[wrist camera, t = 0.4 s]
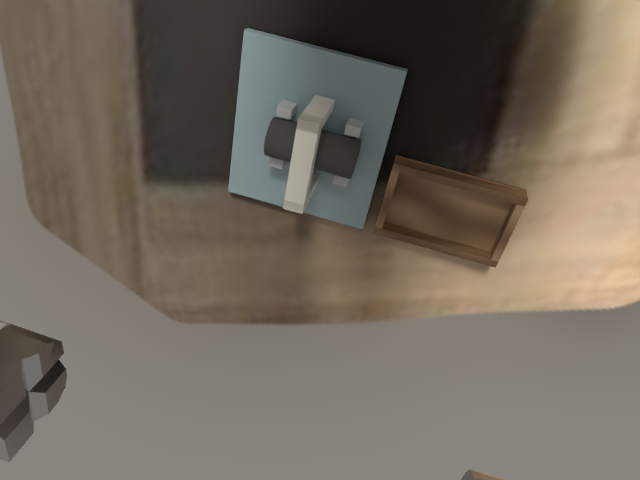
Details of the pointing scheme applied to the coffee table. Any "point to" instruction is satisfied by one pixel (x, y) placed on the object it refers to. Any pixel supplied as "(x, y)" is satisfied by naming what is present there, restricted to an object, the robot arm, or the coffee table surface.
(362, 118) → the clip board
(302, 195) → the u-shaped staple bracket
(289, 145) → the dark grey rounded bar
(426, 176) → the tray
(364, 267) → the coffee table surface
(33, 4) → the coffee table surface
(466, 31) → the coffee table surface
